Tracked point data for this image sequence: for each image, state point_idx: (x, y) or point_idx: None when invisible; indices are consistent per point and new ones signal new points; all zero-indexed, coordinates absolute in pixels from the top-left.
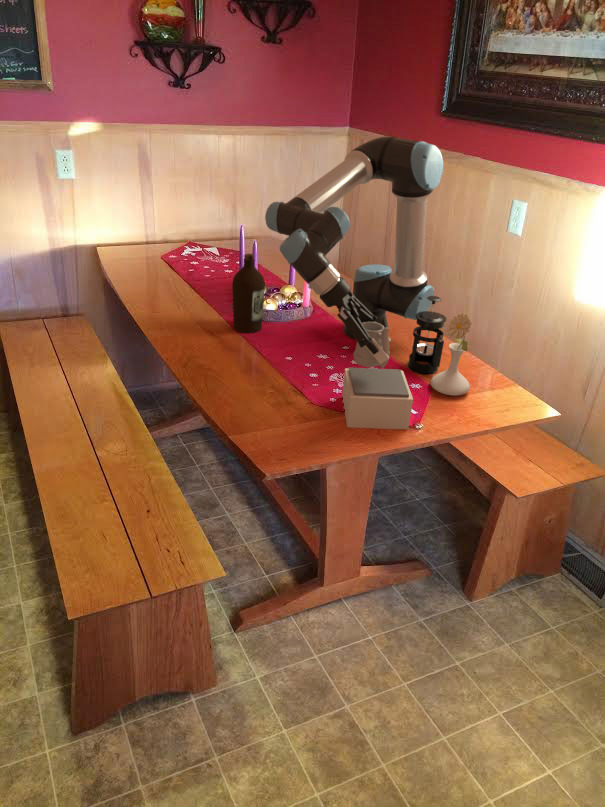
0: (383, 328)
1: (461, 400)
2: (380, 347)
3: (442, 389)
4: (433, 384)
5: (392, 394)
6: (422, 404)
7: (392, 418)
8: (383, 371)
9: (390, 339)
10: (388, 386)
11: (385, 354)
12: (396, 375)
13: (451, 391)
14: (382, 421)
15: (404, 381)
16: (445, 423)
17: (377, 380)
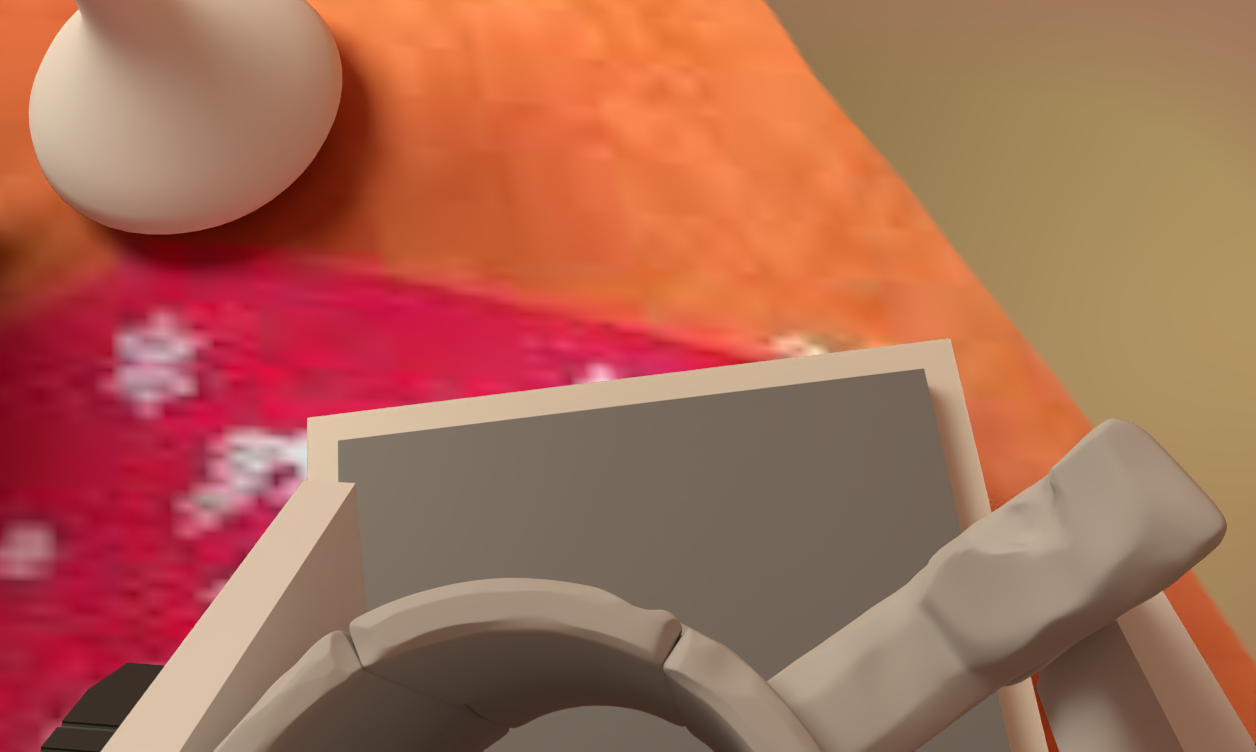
0: (588, 602)
1: (366, 56)
2: (1192, 698)
3: (299, 148)
4: (215, 209)
5: None
6: (463, 324)
7: None
8: None
9: (310, 485)
10: (790, 586)
11: (1160, 592)
12: (491, 487)
13: (328, 88)
14: None
15: (562, 409)
16: (727, 180)
17: (661, 719)
